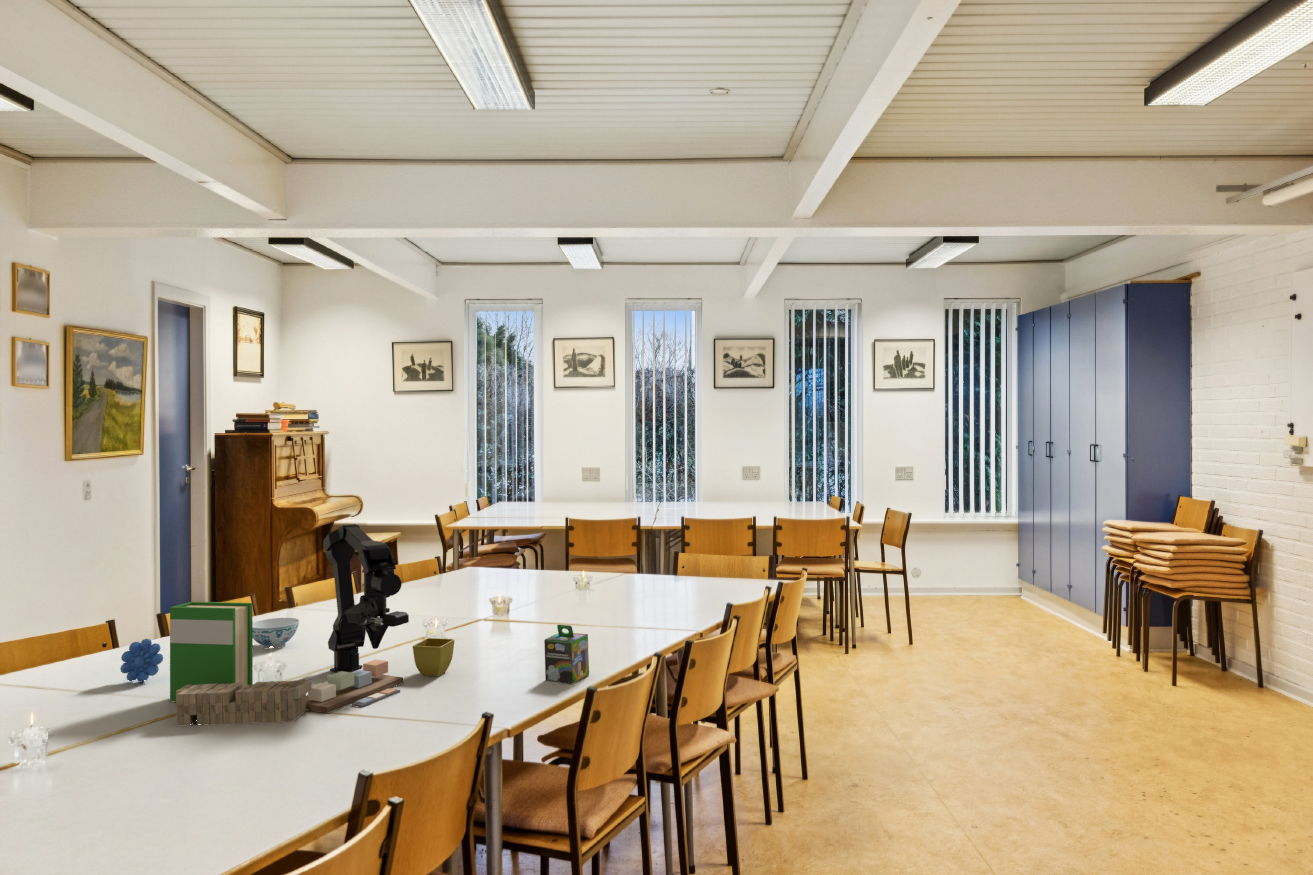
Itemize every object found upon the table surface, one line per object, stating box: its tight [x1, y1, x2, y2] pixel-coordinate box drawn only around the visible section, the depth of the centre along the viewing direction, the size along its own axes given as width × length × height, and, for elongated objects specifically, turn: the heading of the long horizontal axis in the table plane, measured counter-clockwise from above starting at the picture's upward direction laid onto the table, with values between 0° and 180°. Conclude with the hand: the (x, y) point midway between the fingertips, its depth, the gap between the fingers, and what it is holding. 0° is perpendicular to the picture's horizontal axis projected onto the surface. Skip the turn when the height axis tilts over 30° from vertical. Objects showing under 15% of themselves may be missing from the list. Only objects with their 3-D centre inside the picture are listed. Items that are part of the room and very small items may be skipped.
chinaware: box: [252, 617, 300, 649], centre depth 251 cm, size 15×15×8 cm
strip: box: [351, 688, 401, 708], centre depth 196 cm, size 4×13×1 cm, turn 156°
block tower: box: [175, 678, 313, 726], centre depth 183 cm, size 8×8×29 cm
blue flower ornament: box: [119, 638, 164, 682], centre depth 214 cm, size 12×7×12 cm, turn 89°
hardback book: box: [169, 601, 254, 701], centre depth 198 cm, size 18×7×24 cm, turn 81°
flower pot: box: [412, 637, 455, 677], centre depth 218 cm, size 9×9×9 cm
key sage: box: [326, 671, 354, 690], centre depth 197 cm, size 4×4×3 cm
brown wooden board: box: [306, 674, 404, 714], centre depth 200 cm, size 12×26×2 cm, turn 156°
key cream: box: [307, 682, 336, 702], centre depth 192 cm, size 4×4×3 cm
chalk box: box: [543, 624, 590, 685], centre depth 213 cm, size 9×9×15 cm
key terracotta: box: [362, 659, 389, 677], centre depth 208 cm, size 4×4×3 cm
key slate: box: [350, 669, 372, 688], centre depth 203 cm, size 4×4×3 cm
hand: (375, 648), depth 208 cm, fingers closed
